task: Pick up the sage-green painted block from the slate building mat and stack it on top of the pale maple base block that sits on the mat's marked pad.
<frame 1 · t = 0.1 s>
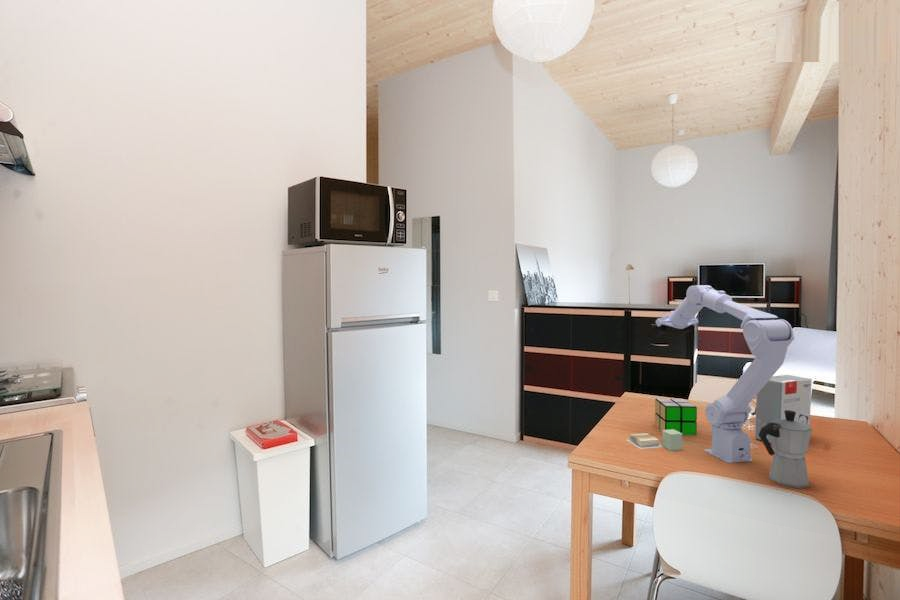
hand: (664, 335, 156), 32 cm above the table, tool tilted 50°, fingers open, 7 cm apart
coffee maker: (784, 481, 114), on the table
base block: (644, 443, 139), resting on building mat
building mat: (652, 444, 139), on the table
hard drive box: (782, 440, 143), on the table
puzzle cube: (674, 431, 152), on the table
green block: (671, 448, 135), resting on building mat
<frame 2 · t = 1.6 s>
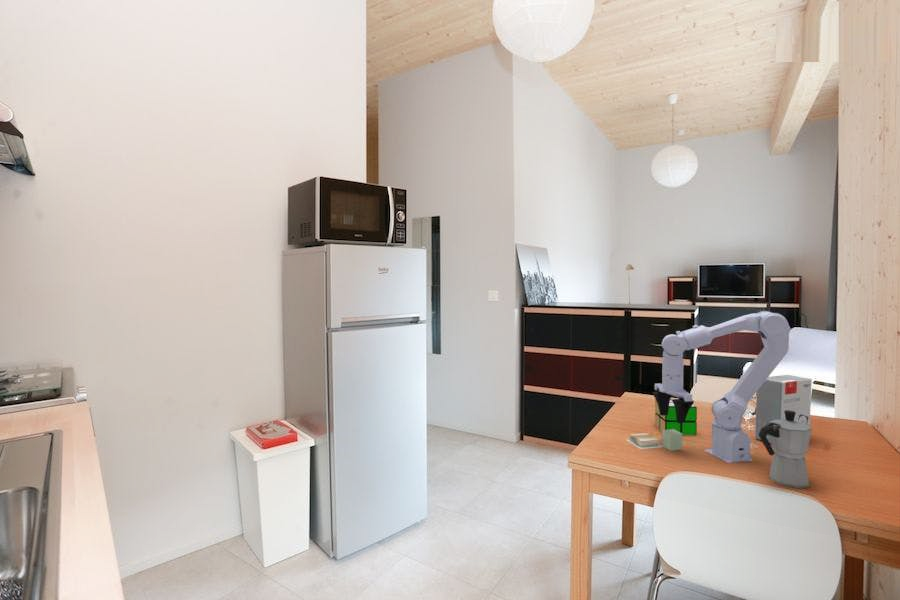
hand: (672, 418, 135), 9 cm above the table, tool pointing down, fingers open, 7 cm apart
nothing on the table moved.
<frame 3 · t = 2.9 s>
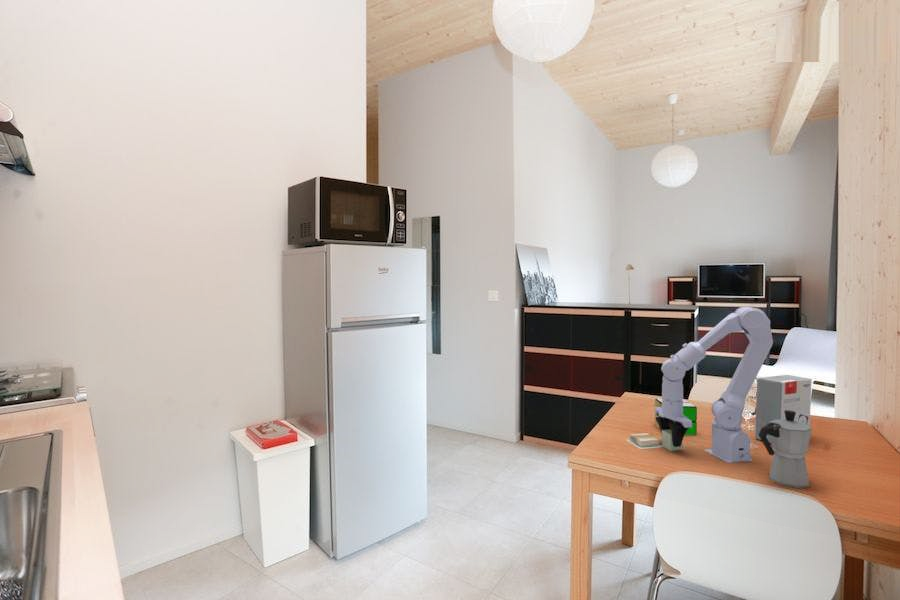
hand: (671, 443, 135), 2 cm above the table, tool pointing down, fingers closed on green block, 4 cm apart
green block: (671, 448, 135), resting on building mat, touching gripper
everything else where it was.
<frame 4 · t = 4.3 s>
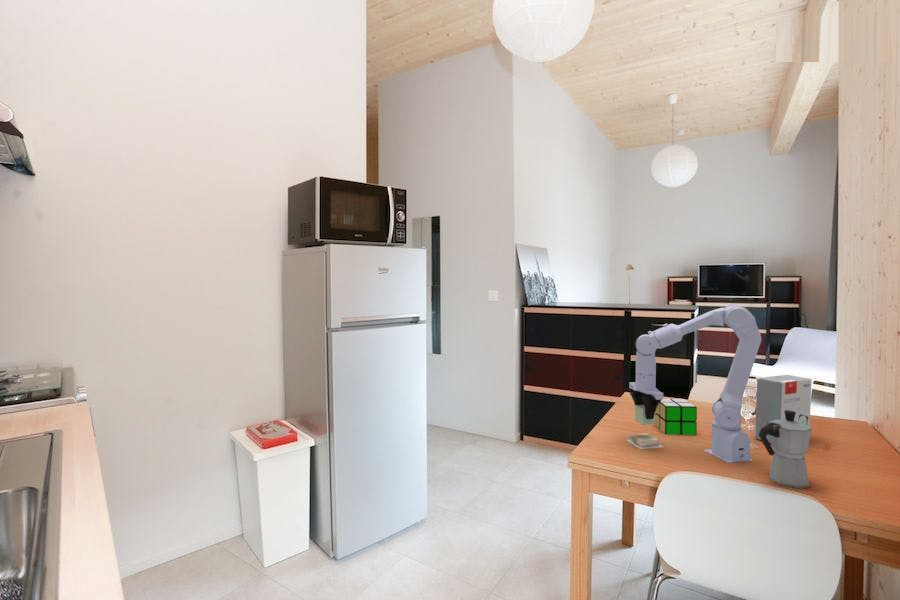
hand: (645, 416, 139), 9 cm above the table, tool pointing down, fingers closed on green block, 4 cm apart
green block: (644, 422, 139), point 7 cm above the table, touching gripper
everything else where it was.
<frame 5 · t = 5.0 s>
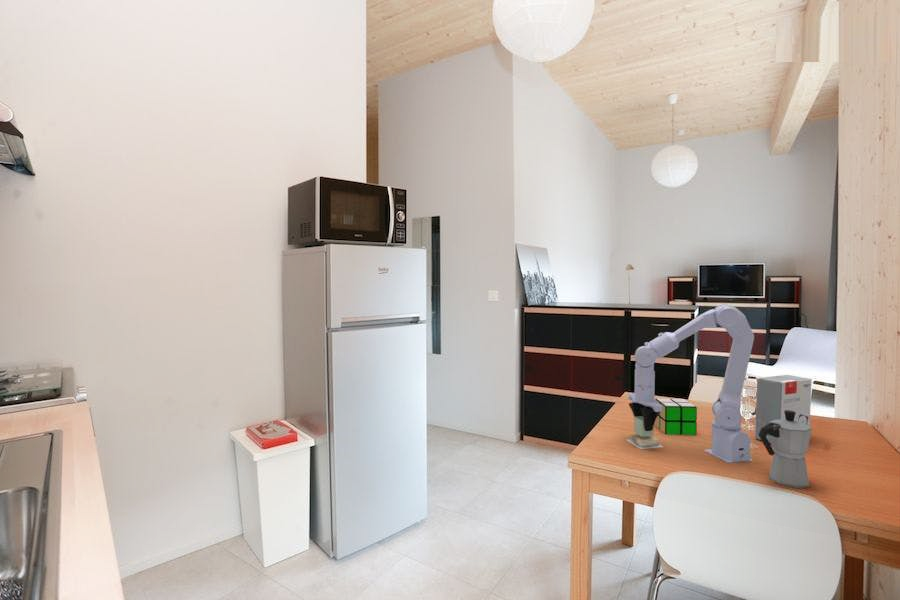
hand: (644, 428, 139), 5 cm above the table, tool pointing down, fingers closed on green block, 4 cm apart
green block: (643, 433, 139), point 3 cm above the table, touching gripper
everything else where it was.
when the fingers open (5 cm above the table, at t = 5.5 s): green block stays where it is, resting on base block.
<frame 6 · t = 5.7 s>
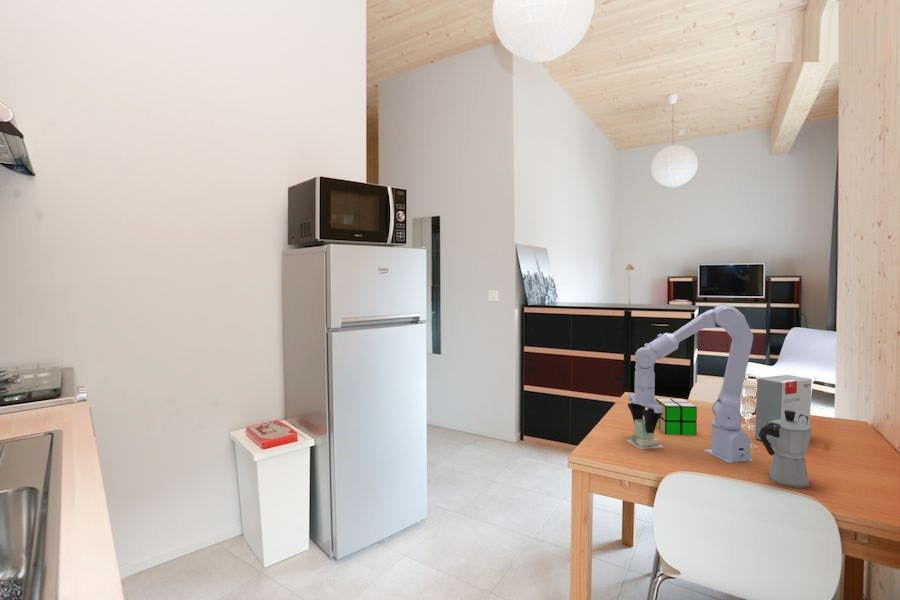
hand: (644, 429, 139), 5 cm above the table, tool pointing down, fingers open, 6 cm apart
base block: (644, 443, 139), resting on building mat, touching green block
green block: (643, 437, 139), point 2 cm above the table, touching base block
everything else where it was.
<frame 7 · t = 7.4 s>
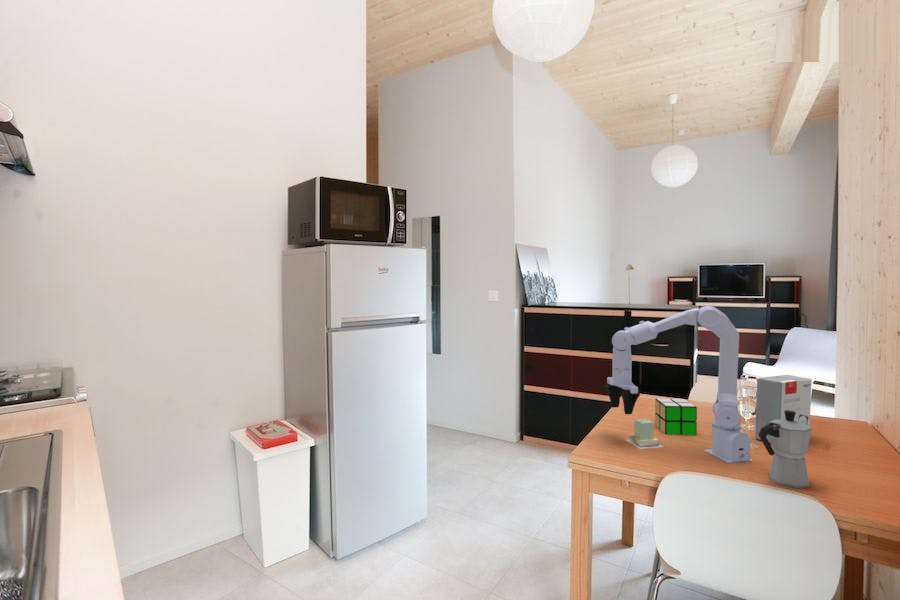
hand: (621, 410, 142), 10 cm above the table, tool pointing down, fingers open, 7 cm apart
nothing on the table moved.
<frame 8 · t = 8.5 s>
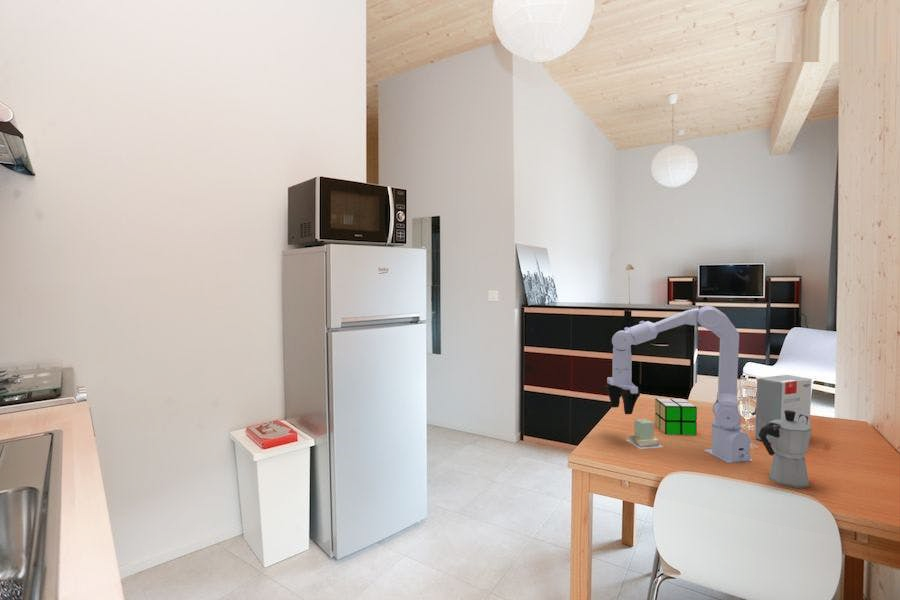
hand: (621, 410, 142), 10 cm above the table, tool pointing down, fingers open, 7 cm apart
nothing on the table moved.
at the end: green block 0.1 cm off-centre on the base block, point 2.0 cm above the base block's base; green block tilted 0°; the gripper is holding nothing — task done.
